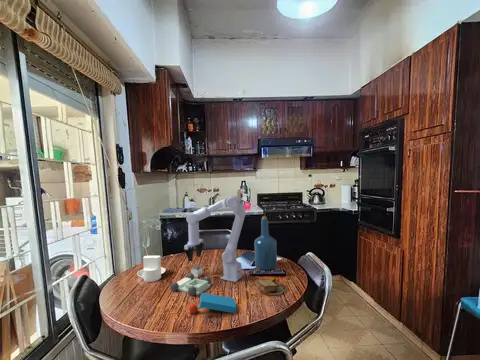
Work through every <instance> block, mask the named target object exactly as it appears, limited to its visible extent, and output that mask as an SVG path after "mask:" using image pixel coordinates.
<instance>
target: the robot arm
mask: <svg viewBox="0 0 480 360" xmlns="http://www.w3.org/2000/svg"><path fill="white" fill-rule="evenodd" d="M222 208H226V209H227V208H228V209H229V210H230V211H232V212H233V214H234V215H235V217H234V221H233V222H232V228H231V231H230V236H229V238H228V241H227V245H226V247H225V250H224V251H223V253H222V254H221V258H222V265H223V269H222V270H223V275H222V276H221V277H220V279H221V280H225V281H230V282H234V283H235V282H238V280H240V279H241V278H242V277H243V273H242V272H243V268H242V267H243V266H242V263H241V262H239V261H237V257H236V256H237V255H238V250H237V248H238V242H239V238H240V235H241V230H242V228H243V224H244V220H245V218H246V217H245V216H246V209H245V207H244V202H243V200H242V198H241V197H240V196H238V195H233V196H230V197H227V198H224V199H221V200H219V201H218V202H216V203H213V204H212V205H211V206H201V207H200V208H199V209H197V210H194V211H193V212H191V213H189V214H187V216H186V219H185V220H186V222H187V223H188V229H187V231H188V241H187V243H186V244H185V245H184V246H183V247H184V248H183V251H184V252H185V254H186V257H187V260H188V262H193V256H194V251H195V252H196V257H198V258H201V256H202V252H203V248H204V246H205V243H204V239H202V238H200V227H199V225H200V223H199V222H200V221H202V220H204V219H206V218H208V217H210V216H211V214H212V213H213V212H214V211H217V210H219V209H222ZM193 247H195V248H193Z"/></svg>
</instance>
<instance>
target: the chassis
mask: <svg viewBox="0 0 480 360" xmlns="http://www.w3.org/2000/svg"><path fill="white" fill-rule="evenodd" d="M211 284H212V278H211V277H210V276H208V275H207V276H205V277H203V279H199V278H197V277H194V275H193V274H192V273H191V272H189V273H187V274H186V276H184V277H183V278H181V279H180V280H178V281H177V282H176V281H173V282H172V283H170V289H171V291H172V292H176V291H179V292H183V293H187V294H188V295H189V296H190V297H193V296H199V295H201V294H202V293H204V291H207V290H208V289H209V288H211Z"/></svg>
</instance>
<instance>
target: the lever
mask: <svg viewBox="0 0 480 360" xmlns="http://www.w3.org/2000/svg"><path fill="white" fill-rule="evenodd" d="M200 309H208V310H213V311H214V310H215V311H219V312H225V313H232V314H234V313H236V311H237V305H236V300H235V298H233V297H227V296H223V295H217V294H211V293H206V292H202V293H201V294H200V299H199V305H197V304H195V303H193V304H191V305H190V306H189V308H188V310H189V311H188V312H189V313H190V314H193V315H194V314H196V313H197V312H198V310H200Z"/></svg>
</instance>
